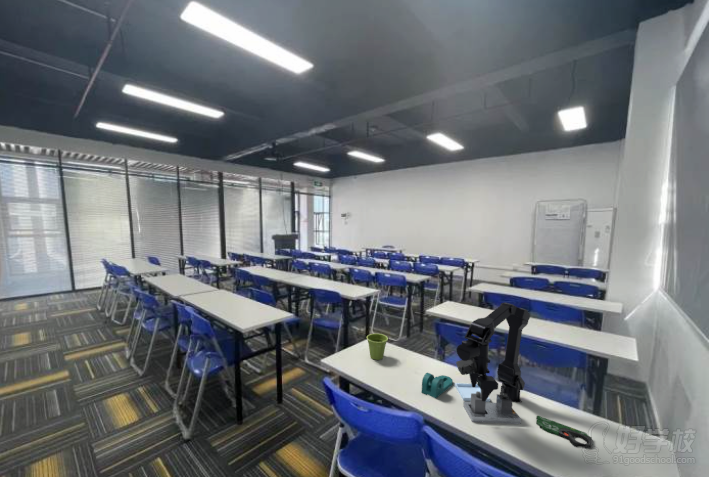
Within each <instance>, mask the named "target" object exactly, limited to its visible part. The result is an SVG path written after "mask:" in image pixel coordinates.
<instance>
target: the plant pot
mask: <svg viewBox="0 0 709 477" xmlns="http://www.w3.org/2000/svg"><path fill="white" fill-rule="evenodd" d="M366 339H367V343H368V349H369V356H370V358H371V359H372V360H376V361H381V360H383V359H384V355H385V351H386V350H385V349H386V345H387V342H388V339H389V338H388V336H387V335H385V334H383V333H370V334H368V335H367V336H366Z"/></svg>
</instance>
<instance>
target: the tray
mask: <svg viewBox="0 0 709 477" xmlns="http://www.w3.org/2000/svg"><path fill="white" fill-rule="evenodd" d="M453 384H454V387H455V389H456V391H457V393H458V394H459V396H460V398H461V400H462V401H463V402H471V393H473V394H476V392H477V391H478V392H480V393H481V389H480V387H479V386H478V385H477V384H478V383H477V384H476V386H475V387H472V384H471V382H470V383H467V382H454V383H453ZM486 402H487V403H491V397H490V395H489V396H488V398H487V399H486Z"/></svg>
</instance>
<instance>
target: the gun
mask: <svg viewBox="0 0 709 477" xmlns="http://www.w3.org/2000/svg"><path fill="white" fill-rule="evenodd" d="M535 420H536V425H538V426H539V429H541V430H542V431H545V432H547V434H548V433H549V434H551V435H553V436H556V437H561V438H562V439H564V440H568V442H569V443H570V444H571V445H572V446H573V447H575V448H579V447H580V448H584V449H587V450H589V449H590V450H591V449H592V448H593V437H591V436H590V435H589V434H587V432H585V431H582V430H579V429H576V428H574V427H572V426H568V425H565V424H563V423H559V422H557V421H553V420H551V419H549V418H546V417H543V416H540V415H536V417H535ZM575 438H578V439H582V440H583V441H585V442H586V443H582V442H580V441H577V439H575Z"/></svg>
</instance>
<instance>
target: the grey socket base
mask: <svg viewBox="0 0 709 477" xmlns="http://www.w3.org/2000/svg"><path fill="white" fill-rule="evenodd" d="M462 407H463V409H464V410H465V412H466V414H467V416H468V417H469V419H470V421H471V422H472V423H489V424H491V423H492V424H515V425H516V424H517V425H519V424H521V421H522V418H521V417H520V415H519V414H518V413H517V412H516V411H515V410H514V409H513V402H512V400H511V399H510V398H509V397H508V395H507V394H506V393H504V392H503V393H502V395H501V394H500V393H499V394H496V402H486V406H485V414H474V413H473V412H472V410H471V401H463V404H462Z"/></svg>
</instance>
